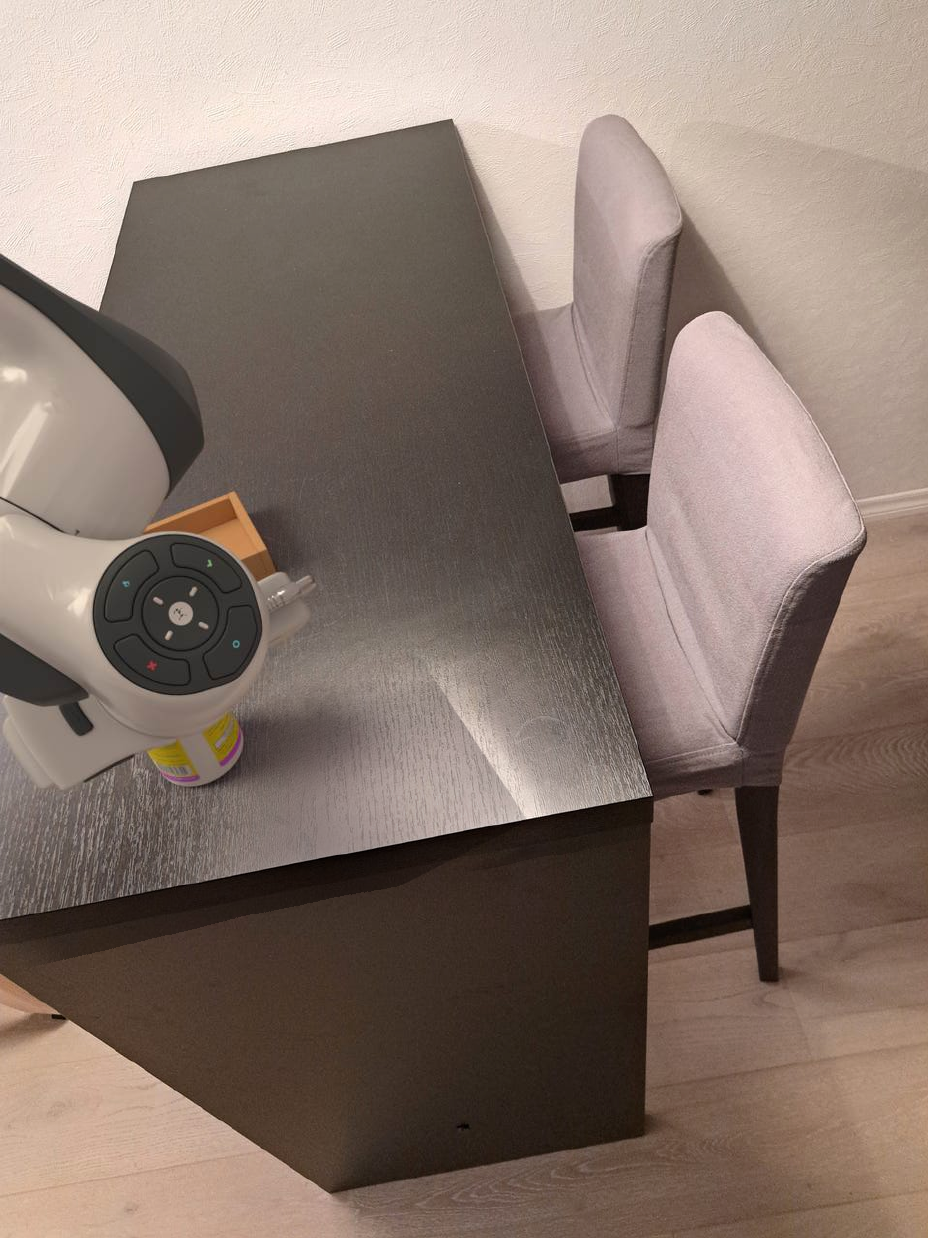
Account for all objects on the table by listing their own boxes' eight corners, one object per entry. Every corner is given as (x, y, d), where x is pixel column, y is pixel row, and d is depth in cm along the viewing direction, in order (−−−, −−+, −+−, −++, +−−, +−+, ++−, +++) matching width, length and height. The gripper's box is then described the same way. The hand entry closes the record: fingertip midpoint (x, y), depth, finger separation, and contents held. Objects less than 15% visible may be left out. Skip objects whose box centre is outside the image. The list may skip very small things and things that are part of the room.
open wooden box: (161, 622, 84) (148, 598, 82) (137, 558, 92) (125, 534, 90) (276, 573, 87) (267, 548, 85) (244, 514, 95) (234, 490, 93)
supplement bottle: (233, 709, 75) (174, 589, 66) (256, 765, 70) (195, 645, 62) (152, 745, 74) (81, 628, 65) (170, 805, 69) (96, 687, 60)
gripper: (291, 530, 58) (264, 578, 71) (-28, 712, 51) (6, 729, 64) (347, 616, 59) (310, 648, 71) (37, 810, 51) (58, 807, 64)
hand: (164, 688), depth 68 cm, fingers open, 7 cm apart
